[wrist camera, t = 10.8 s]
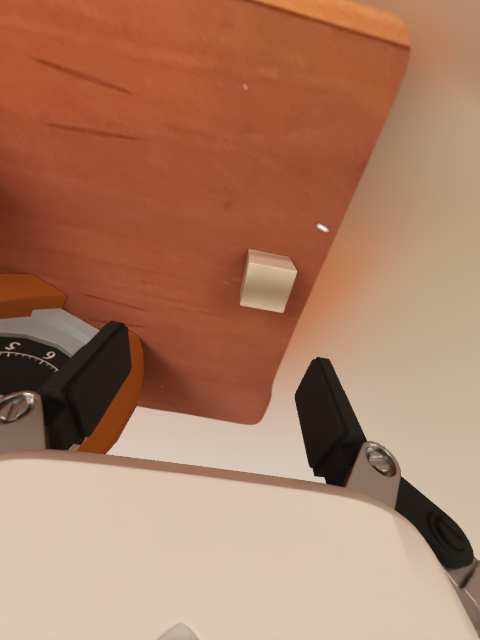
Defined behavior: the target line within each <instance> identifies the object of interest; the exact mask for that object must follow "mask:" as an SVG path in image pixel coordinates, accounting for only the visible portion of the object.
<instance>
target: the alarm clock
mask: <svg viewBox="0 0 480 640" xmlns="http://www.w3.org/2000/svg"><path fill="white" fill-rule="evenodd" d="M66 298H67V295H66V294H65V293H63V292H61V291H60V290H58V289H56V288H54V287H53V286H51V285H49V284H48V283H46V282H44V281H42V280H41V279H39V278H37V277H36V276H34V275H30V274H11V273H0V398H2V397H4V396H6V395H9V394H12V393H15V392H19V391H33V392H36V391H37V390H38V389H39V388H40V387H41V386H42V385H43V384H44V383H45V382H46V381H47V380H48V379H49V378H50V377H51V376H53V375H54V374H55V373H56V372H57V371H58V370H59V369H60V368H61V367H62V366H63V365H64V364H65V363H66V362H67V361H68V360H69V359H70V358H71V357H72V356H73V355H74V354H75V353H76V352H77V351H78V350H79V349H80V348H81V347H82V346H84V345H86V344H87V343H88V342H89V341H90V340H91V339H92V338H93V337H94V336H95V335H96V334H97V333H98V332H99V331H100V330H99V329H97V328H95V327H93V326H91V325H90V324H88V323H86V322H84V321H82V320H80V319H79V318H77V317H75V316H73V315H71V314H70V313H68V312H66V311H64V310H63V309H62V307H63V304H64V302H65V300H66ZM109 321H111V320H108V322H109ZM108 322H107V323H108ZM107 323H106V324H107ZM128 333H129V343H130V353H131V363H132V369H131V372H130V374H129V375H128V377H127V379H126V380H125V382H124V383H123V385H122V387H121V388H120V390H119V392H118V393H117V395H116V396H115V398H114V400H113V401H112V403H111V404H110V406H109V408H108V409H107V411H106V412H105V414H104V416H103V417H102V419H101V420H100V422H99V424H98V425H97V427H96V429H95V430H94V432H93V433H92V435H91V436H90V437H88V438H87V437H86V438H85V440H84V441H83V443H82V444H81V445H76V444H69V445H68V447H67V448H66V450H69V451H78V452H87V453H97V454H106V453H107V452H108V451H109V450H110V449H111V447H112V446H113V445H114V444H115V443H116V442H117V440H118V439H119V437H120V435H121V433H122V431H123V429H124V428H125V426H126V424H127V422H128V421H129V419H130V417H131V415H132V413H133V412H134V410H135V408H136V406H137V402H138V398H139V394H140V390H141V386H142V382H143V379H144V352H143V349H142V345H141V341H140V338H139V337H138V336H137V335H135V334H134V333H132V332H130V331H129V330H128Z"/></svg>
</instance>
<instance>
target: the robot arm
mask: <svg viewBox="0 0 480 640" xmlns="http://www.w3.org/2000/svg"><path fill="white" fill-rule="evenodd" d="M131 369H132V363H131V353H130V343H129V333H128V327H126V326H125V325H124V323H121V322H115V321H109V322H108V323H107V324H106V325H105V326H104V327H103V328H102V329H101V330H100V331H99V332H98V333H97V334H96V335H95V336H94V337H93V338H92V339H91V340H90V341H89V342H88V343H87V344H86V345H84V346H82V347H81V348H80V349H79V350H78V351H77V352H76V353H75V354H74V355H73V356H72V357H71V358H70V359H69V360H68V361H67V362H66V363H65V364H64V365H63V366H62V367H61V368H60V369H59V370H58V371H57V372H56V373H55V374H54V375H53V376H51V377H50V378H49V379H48V380H47V381H46V382H45V383H44V384H43V385H42V386H41V387H40V388H39V389H38V390H37V391H36V392H33V391H19V392H15V393H12V394H9V395H6V396H4V397H2V398H0V640H480V560H479V561H478V560H477V559H476V558H475V557H474V554H473V549H472V547H471V545H470V542H469V540H468V539H467V537H466V535H465V534H464V532H463V531H462V530H461V528H460V527H459V526H458V525H457V524H456V522H454V521H453V520H452V519H451V518H450V517H449V516H448V515H447V514H446V513H445V512H443V511H442V510H441V509H440V508H439V507H437V506H436V505H435V504H434V503H433V502H431V501H430V500H429V499H428V498H426V497H425V496H424V495H423V494H422V493H421V492H419V491H418V490H417V489H416V488H415V487H413V486H412V485H411V484H410V483H408V482H407V481H406V480H405V479H404V478H403V477H401V470H400V467H399V464H398V462H397V460H396V459H395V457H394V456H393V455H392V454H391V453H390V452H389V451H388V450H387V449H386V448H385V447H383V446H382V445H380V444H378V443H376V442H372V441H367V440H366V437H365V435H364V433H363V431H362V429H361V426H360V425H359V422H358V420H357V418H356V416H355V413H354V411H353V409H352V407H351V405H350V403H349V401H348V398H347V396H346V394H345V392H344V390H343V388H342V386H341V384H340V381H339V379H338V377H337V375H336V373H335V371H334V368H333V366H332V364H331V362H330V360H329V359H326V358H320V357H317V358H316V359H313V360H312V361H311V363H310V365H309V367H308V369H307V371H306V373H305V375H304V377H303V379H302V381H301V383H300V385H299V387H298V389H297V391H296V393H295V402H296V407H297V411H298V415H299V421H300V425H301V430H302V435H303V439H304V444H305V449H306V454H307V458H308V463H309V466H310V467H311V468H313V472H314V476H319V477H325V480H326V484H323V483H316V482H310V481H304V480H297V479H291V478H283V477H276V476H269V475H261V474H254V473H247V472H239V471H231V470H224V469H216V468H209V467H201V466H193V465H185V464H178V463H170V462H162V461H154V460H146V459H137V458H130V457H122V456H114V455H106V454H97V453H87V452H78V451H69V450H66V448H67V447H68V445H69V444H76V445H81V444H82V443H83V441H84V440H85V438H86V437H87V438H88V437H90V436H91V435H92V433H93V432H94V430H95V429H96V427H97V425H98V424H99V422H100V420H101V419H102V417H103V416H104V414H105V412H106V411H107V409H108V408H109V406H110V404H111V403H112V401H113V400H114V398H115V396H116V395H117V393H118V392H119V390H120V388H121V387H122V385H123V383H124V382H125V380H126V379H127V377H128V375H129V374H130V372H131Z"/></svg>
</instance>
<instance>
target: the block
mask: <svg viewBox="0 0 480 640" xmlns="http://www.w3.org/2000/svg"><path fill="white" fill-rule="evenodd" d="M296 274H297V270H296V268H295V266H294V265H293V263H292V261H291V259H290V257H287V256H282V255H277V254H272V253H267V252H262V251H257V250H252V249H249V250H248V255H247V260H246V265H245V270H244V275H243V280H242V284H241V294H240V305H241V306H246V307H252V308H257V309H263V310H268V311H274V312H279V313H283V312H284V309H285V306H286V303H287V301H288V298H289V295H290V292H291V289H292V286H293V283H294V280H295V277H296Z"/></svg>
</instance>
